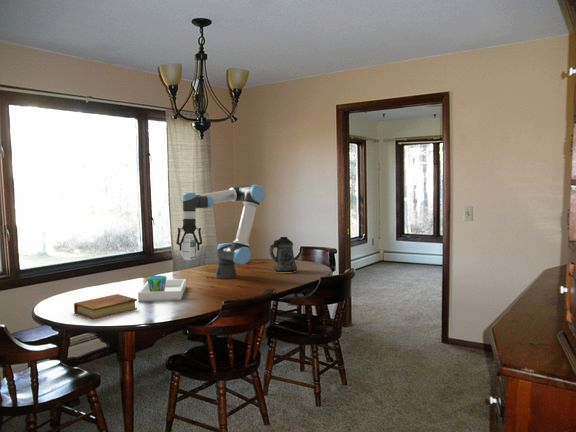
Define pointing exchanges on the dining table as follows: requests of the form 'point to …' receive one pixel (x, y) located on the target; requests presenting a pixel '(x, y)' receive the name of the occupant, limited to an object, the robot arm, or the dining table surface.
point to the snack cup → (156, 283)
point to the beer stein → (283, 255)
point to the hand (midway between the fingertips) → (189, 255)
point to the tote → (172, 291)
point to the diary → (104, 306)
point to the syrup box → (189, 247)
